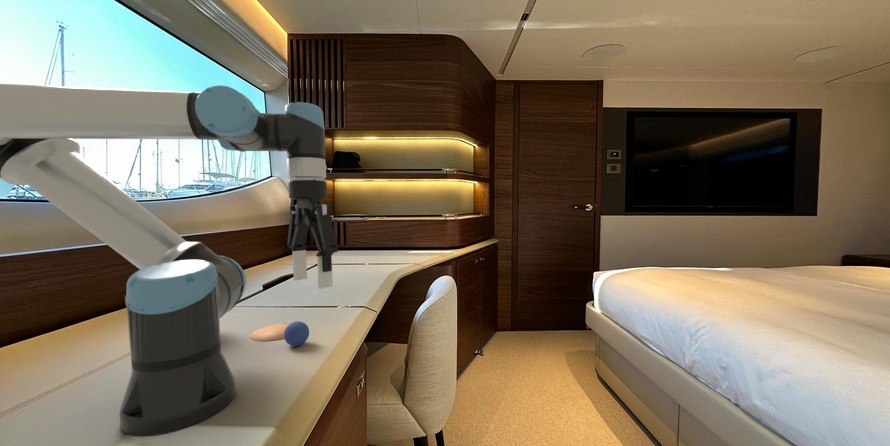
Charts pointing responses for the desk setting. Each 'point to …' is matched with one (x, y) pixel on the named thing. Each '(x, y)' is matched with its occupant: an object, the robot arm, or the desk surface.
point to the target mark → (270, 332)
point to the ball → (296, 333)
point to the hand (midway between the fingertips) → (312, 283)
